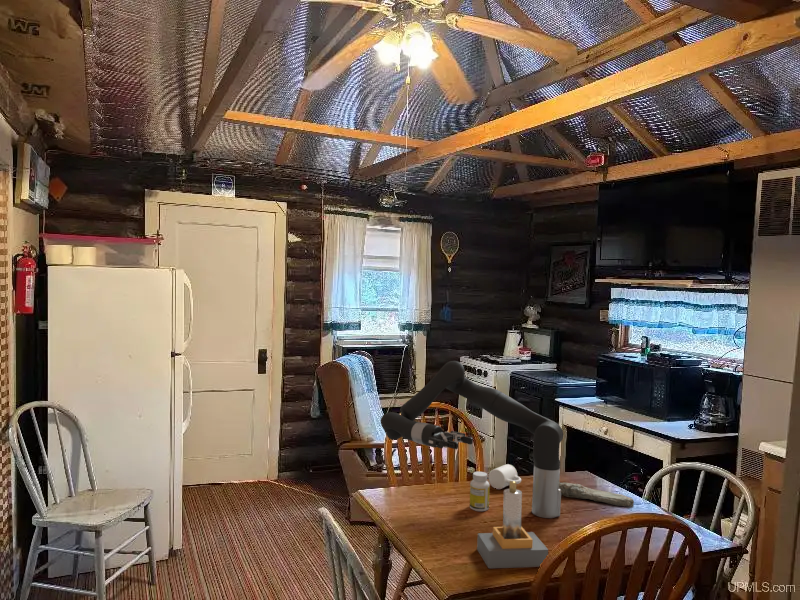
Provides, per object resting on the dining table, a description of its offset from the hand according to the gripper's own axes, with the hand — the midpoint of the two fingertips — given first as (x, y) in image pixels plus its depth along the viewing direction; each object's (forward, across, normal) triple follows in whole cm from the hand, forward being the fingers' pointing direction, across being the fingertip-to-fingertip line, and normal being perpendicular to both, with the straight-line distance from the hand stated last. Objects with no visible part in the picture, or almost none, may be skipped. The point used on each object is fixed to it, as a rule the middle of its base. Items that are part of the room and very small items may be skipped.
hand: (465, 443), depth 191 cm
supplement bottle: (-6, +19, +29) cm, 35 cm away
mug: (-10, +47, +29) cm, 56 cm away
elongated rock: (+18, +61, +30) cm, 70 cm away
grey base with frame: (+22, -6, +29) cm, 37 cm away
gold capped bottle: (+22, -6, +24) cm, 33 cm away
